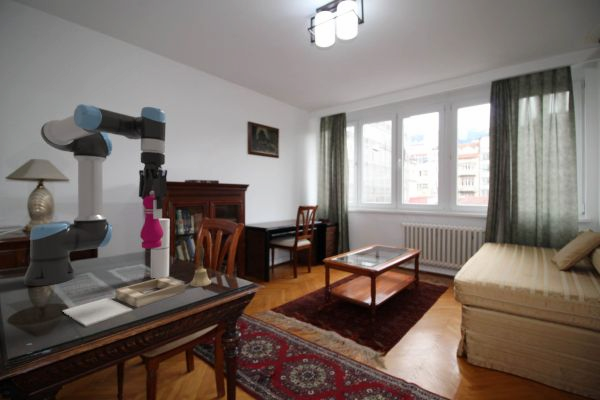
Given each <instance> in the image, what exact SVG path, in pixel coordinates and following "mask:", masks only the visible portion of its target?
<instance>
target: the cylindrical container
mask: <svg viewBox="0 0 600 400" xmlns="http://www.w3.org/2000/svg"><path fill="white" fill-rule="evenodd" d="M170 221H171V220H170V218H160V219H159V222H160V225H161V227H162V229H163V237H162V238H161V239H160V241H162V246H161V247H158V248H150V278H151V279H153V278H155V279H157V278H161V277H164V278H167V277H169V276H170V231H171V230H170V227H171V226H170V224H171V223H170Z"/></svg>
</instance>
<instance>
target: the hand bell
mask: <svg viewBox="0 0 600 400" xmlns="http://www.w3.org/2000/svg"><path fill="white" fill-rule="evenodd" d="M196 253H197V259H198V266H197V267H198V269H195V271H194V275H193V278H192V280H191V281H190V282H189V286H191V287H195V288H196V287H197V288H199V287H207V286H209V285H211V284H212V280H211V279H209V277H208V276H209V275H208V272H207V269H206V268H204V261H203V259H204V256H205V250H204V245H203V243H201V244H198V247H197V252H196Z"/></svg>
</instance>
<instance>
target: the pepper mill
mask: <svg viewBox="0 0 600 400" xmlns="http://www.w3.org/2000/svg"><path fill="white" fill-rule="evenodd" d="M153 198H155V195H154V190H151V192H150V195H149V196H146V197H145V198H144V199H142V207H143V206H144V207H145V208H146V209H144V210H145V212H144V213H145V214H146V217H145V219H144V220H145V221H144V224H143V226H142V227H141V230H140V235H139V237H140V239H141V240H142V241H141V248H143V249H151V248H158V247H161V246H162V241H160V239H161V238H162V237H163V229H162V227H161V225H160V222H159V219H153Z"/></svg>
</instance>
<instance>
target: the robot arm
mask: <svg viewBox="0 0 600 400" xmlns="http://www.w3.org/2000/svg"><path fill="white" fill-rule="evenodd" d="M166 124H167V121H166V113H165V111H164V110H163V109H161V108H159V107H153V106H144V107H142V108H141V111H140V116H138V117H137V116H131V115H128V114H124V113H120V112H116V111H113V110H108V109H104V108H100V107H96V106H94V105H87V104H77V105H76V108H75V109H74V112H73V115H72V116H68V117H66V118H63V119H59V120H58V119H53V120H50V121H47V122H45V123H44V124H43V125H42V126H41V128H40V136H41V138H42V140H43V141H44V142H45V144H47V145H49V146H50V147H52V148H54V149H56V150H59V151H62V152H69V153H73V158H74V159H75V160H76V161H77V172H78V173H77V175H78V176H77V185H78V186H77V187H78V189H77V192H78V194H77V200H78V201H77V203H78V204H77V205H78V206H77V209H78V211H77V214H78V215H77V216H76V217H75V218H74V219H73V223H72V224H71V222H69V221H66V220H62V221H53V222H52V221H51V222H47V223H40V224H37V225H34V226H33V227H31V229H30V234H29V240H30V242H29V244H30V247H29V248H30V249H29V257H30V262H29V266H28V268H27V271H26V272H25V275H24V277H23V285H25V286H27V287H39V286H40V287H42V286H49V285H50V286H51V285H57V284H60V283H64V282H67V281H70V280H72V279H74V278H75V277H76V276H75V275H76V272H75V269H74V267H73V264H72V262H71V259H70V253H71V252H77V251H86V250H92V249H94V250H95V249H98V248H99V249H100V248H103V247H106V246H107V245H109V243H110V242H111V240H112V237H113V227H112V224H111V222H109V221H107V217H106V216H104V215H103V163H104V162H105V161H107V157H109V156H111V155H112V151H113V142H112V139H111V136H110V135H109V134H112V135H117V136H123V137H125V138H127V139H129V140H140V151H141V153H140V163H142V164H143V165H144V168H143V170H142V169H139V171H138V173H139V174H138V175H139V182H138V183H139V186H138V187H139V188H138V197H139V198H141V199H142V200H143V199H144V198H145V197H146V196H149V195H150V192H151V191H154V195H155V198H153V219H163V200H164V199H167V198H168V192H167V190H168V188H167V187H168V185H167V184H168V183H167V181H168V180H167V175H168V170H167V169H163V167H162V166H163V165H165V163H166V155H165V154H164V153H165V152H166V151H165V150H166ZM152 189H153V190H152ZM144 209H146V208H145V207H144V206H143V205H142V218H146V214H145V213H144V212H145V210H144Z"/></svg>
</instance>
